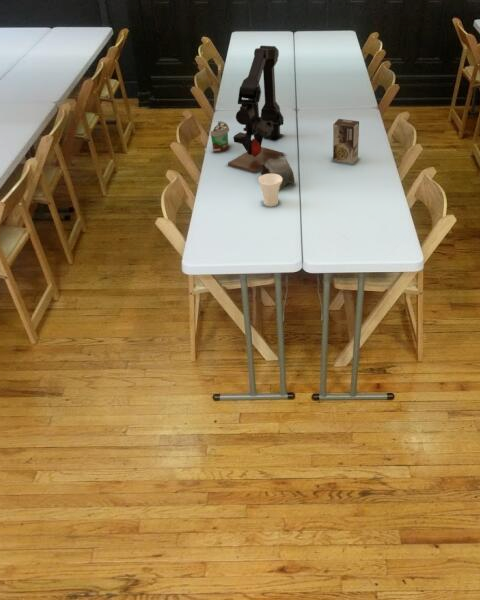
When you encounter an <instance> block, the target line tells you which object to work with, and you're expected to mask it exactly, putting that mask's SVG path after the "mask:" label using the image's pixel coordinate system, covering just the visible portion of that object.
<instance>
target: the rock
mask: <svg viewBox="0 0 480 600" xmlns="http://www.w3.org/2000/svg"><path fill="white" fill-rule="evenodd" d="M260 174H261V175H264V174H278V175H280V176H281V177H282V183H281V184H280V188H279V190H281V189H282V188H283V187H286V185H287V184H295V175H294V171H293V169H292V167H291V165H290V163H289V162H288V160H287V158H286V157H285V156H284V155H283V156H277V157H276V158H273V159H267V160H266V163H264V164H262V165H261V170H260Z"/></svg>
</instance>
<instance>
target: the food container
mask: <svg viewBox="0 0 480 600" xmlns="http://www.w3.org/2000/svg"><path fill="white" fill-rule="evenodd" d="M217 122H218V123H217V125H216V126H214V128H213V130H210V137H211V138H210V139H211V145H212V151H213V153H216V154H217V153H222V152H226V151H227V150H228V149H229V131H230V127H229V125H228V124H227V122H225V121H221V120H218V121H217Z"/></svg>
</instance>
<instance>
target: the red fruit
mask: <svg viewBox="0 0 480 600" xmlns="http://www.w3.org/2000/svg"><path fill="white" fill-rule="evenodd" d="M251 140H253V142H252V144H251V155H252V156H253V157H256V156H257V155H258V154H259V153H260V152H261V147H262V144H261V145H260V143H259V142H258V141H256V140H255V139H254V137H253V138H251Z"/></svg>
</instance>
